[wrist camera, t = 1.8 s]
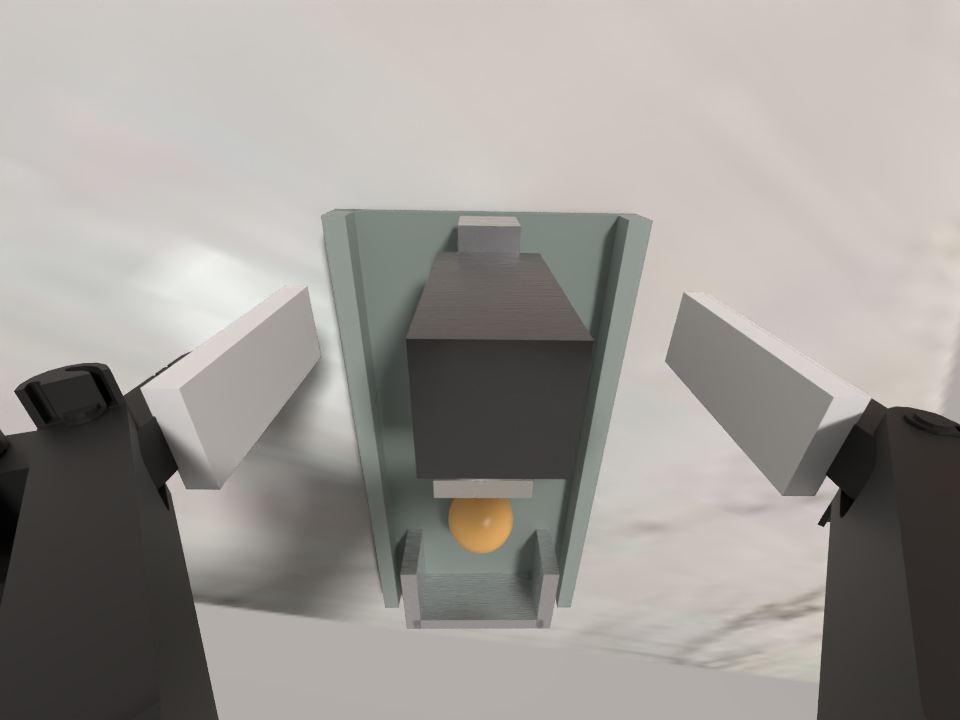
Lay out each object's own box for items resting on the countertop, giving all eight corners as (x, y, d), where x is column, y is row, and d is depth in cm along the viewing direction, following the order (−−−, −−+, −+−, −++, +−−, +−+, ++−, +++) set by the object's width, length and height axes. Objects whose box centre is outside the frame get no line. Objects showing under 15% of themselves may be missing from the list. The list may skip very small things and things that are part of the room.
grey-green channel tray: (390, 581, 31) (385, 607, 30) (335, 209, 18) (320, 215, 17) (565, 581, 32) (570, 607, 30) (635, 213, 19) (652, 220, 17)
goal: (414, 574, 31) (406, 628, 28) (409, 521, 28) (400, 574, 25) (541, 574, 31) (549, 628, 28) (549, 521, 28) (559, 574, 25)
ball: (450, 513, 27) (447, 568, 24) (449, 470, 25) (445, 522, 22) (509, 514, 27) (514, 568, 24) (512, 470, 25) (518, 522, 22)
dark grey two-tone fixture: (440, 446, 24) (416, 648, 14) (431, 213, 17) (377, 293, 8) (523, 446, 24) (555, 648, 14) (543, 215, 18) (626, 295, 8)
